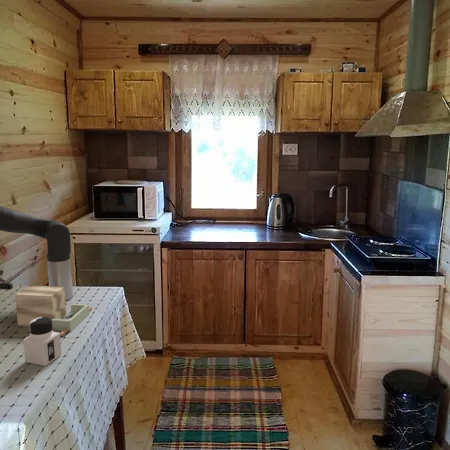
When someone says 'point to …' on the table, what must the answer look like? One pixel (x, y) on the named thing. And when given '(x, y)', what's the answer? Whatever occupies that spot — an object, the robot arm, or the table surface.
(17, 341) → the table surface
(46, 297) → the ash block
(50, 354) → the container
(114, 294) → the table surface
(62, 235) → the robot arm
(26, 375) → the table surface
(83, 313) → the grey-green piece
